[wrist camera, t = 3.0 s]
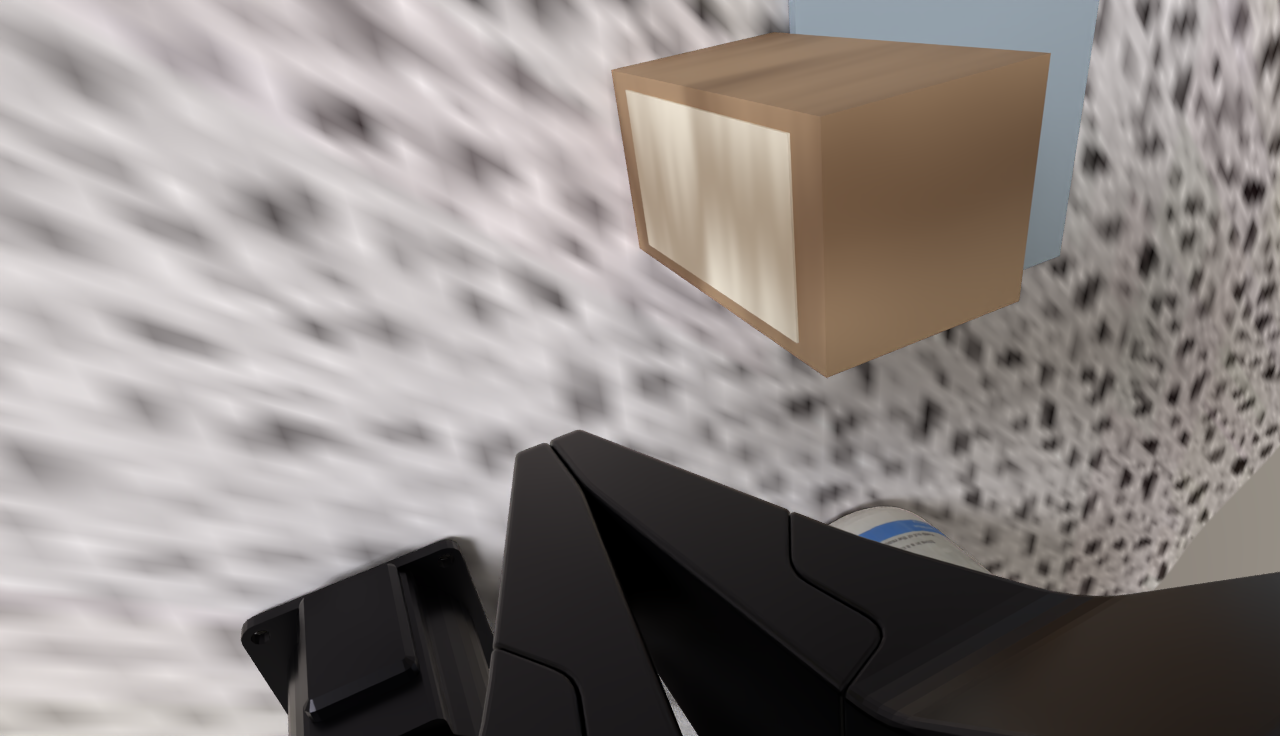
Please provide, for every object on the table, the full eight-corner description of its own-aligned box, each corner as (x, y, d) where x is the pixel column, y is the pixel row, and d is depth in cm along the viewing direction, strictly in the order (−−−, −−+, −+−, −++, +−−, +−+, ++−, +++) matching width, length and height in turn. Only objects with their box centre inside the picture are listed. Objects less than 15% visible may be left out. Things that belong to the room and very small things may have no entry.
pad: (1053, 253, 29) (1059, 255, 29) (802, 349, 26) (807, 352, 26) (1129, -258, 21) (1139, -261, 21) (779, -216, 18) (787, -219, 18)
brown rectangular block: (782, 203, 23) (1018, 301, 16) (638, 248, 22) (824, 378, 14) (773, 32, 20) (1050, 53, 13) (609, 70, 19) (818, 117, 12)
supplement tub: (715, 600, 30) (1010, 1007, 18) (891, 456, 31) (1287, 752, 19) (796, 698, 35) (1063, 1057, 23) (943, 573, 36) (1275, 859, 24)
